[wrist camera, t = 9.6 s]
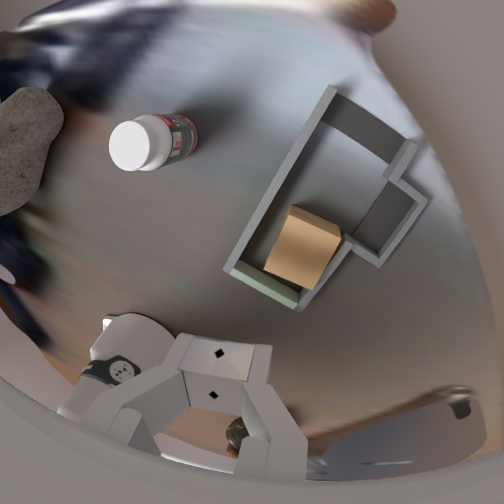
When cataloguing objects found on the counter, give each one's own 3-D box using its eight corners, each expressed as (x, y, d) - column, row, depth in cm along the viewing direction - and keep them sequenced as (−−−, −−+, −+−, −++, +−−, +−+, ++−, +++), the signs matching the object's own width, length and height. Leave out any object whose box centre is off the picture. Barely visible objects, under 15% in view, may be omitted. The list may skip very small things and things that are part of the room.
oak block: (312, 273, 36) (312, 290, 32) (268, 254, 36) (263, 269, 32) (338, 225, 32) (341, 238, 29) (291, 203, 32) (288, 214, 29)
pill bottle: (200, 114, 30) (157, 113, 21) (197, 162, 32) (155, 179, 23) (156, 114, 30) (105, 117, 22) (155, 159, 33) (105, 175, 24)
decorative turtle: (220, 424, 56) (209, 452, 48) (252, 394, 49) (242, 426, 42) (257, 441, 55) (249, 469, 48) (295, 414, 49) (290, 446, 42)
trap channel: (330, 317, 38) (331, 329, 35) (227, 260, 37) (222, 270, 35) (441, 169, 26) (450, 173, 24) (327, 87, 26) (328, 84, 24)
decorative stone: (49, 79, 30) (81, 105, 31) (16, 174, 39) (42, 205, 40) (-35, 85, 15) (-14, 116, 17) (-52, 203, 24) (-30, 243, 25)
